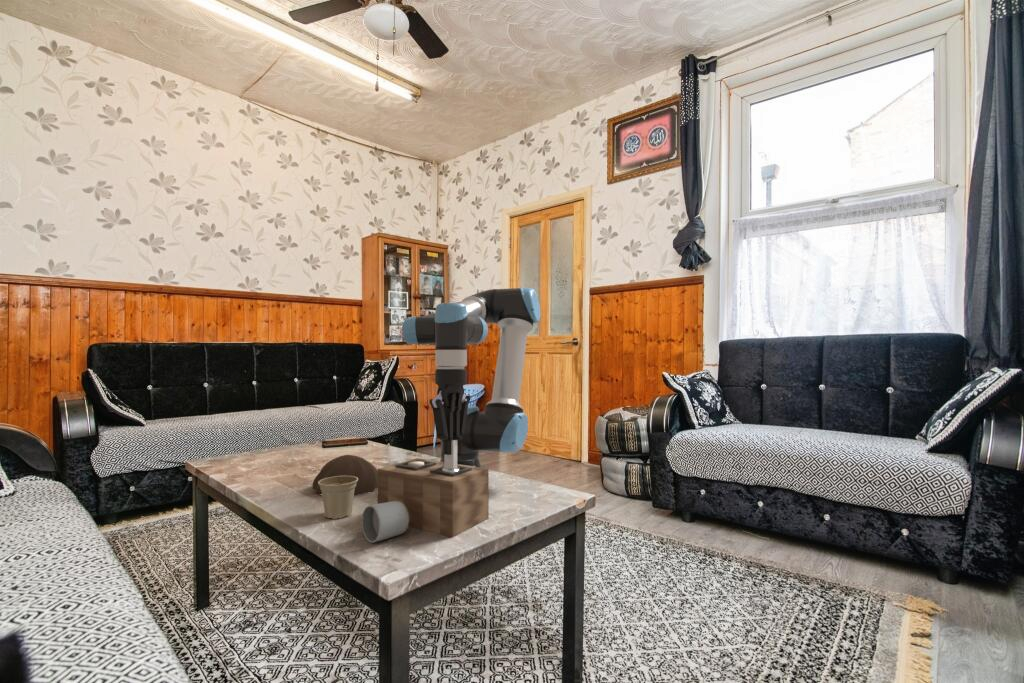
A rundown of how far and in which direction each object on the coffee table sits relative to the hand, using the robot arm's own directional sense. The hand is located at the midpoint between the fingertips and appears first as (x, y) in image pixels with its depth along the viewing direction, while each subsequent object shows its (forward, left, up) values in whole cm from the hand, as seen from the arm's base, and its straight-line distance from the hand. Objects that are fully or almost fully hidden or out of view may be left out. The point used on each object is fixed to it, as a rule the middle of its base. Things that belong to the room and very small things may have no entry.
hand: (450, 467), depth 114 cm
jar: (-13, -8, -13) cm, 20 cm away
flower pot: (+10, -28, -13) cm, 32 cm away
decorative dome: (-8, -46, -13) cm, 48 cm away
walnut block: (0, -6, -13) cm, 14 cm away
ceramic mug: (+14, -8, -13) cm, 21 cm away
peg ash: (0, -11, -11) cm, 16 cm away
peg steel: (0, 0, -11) cm, 11 cm away
